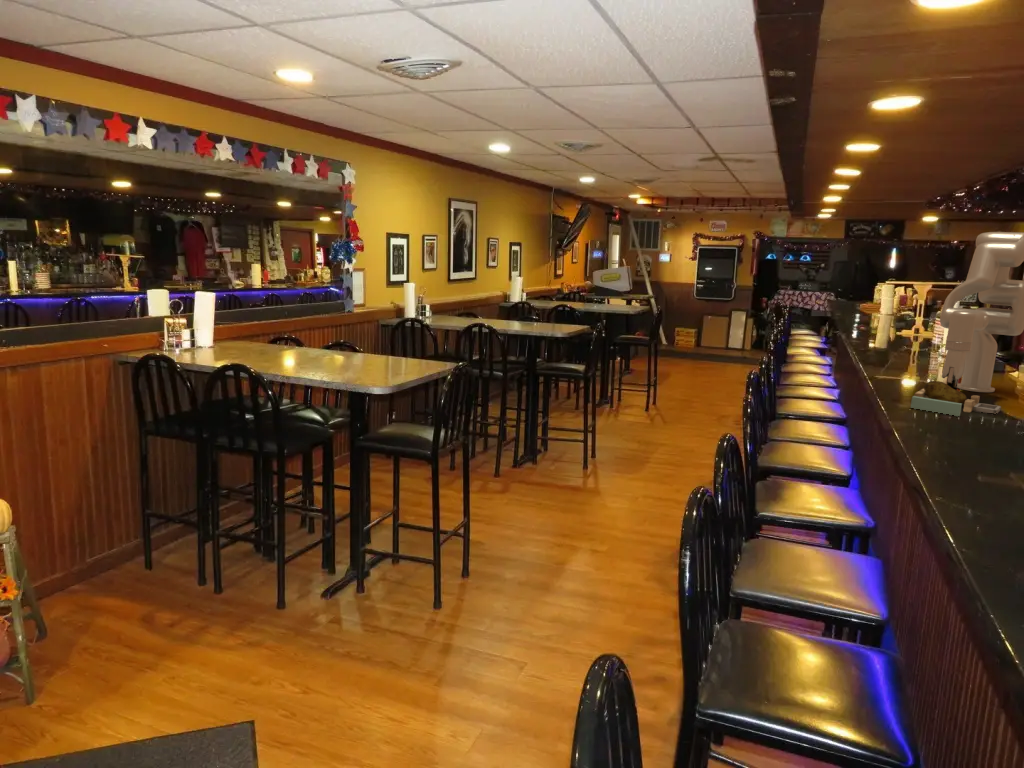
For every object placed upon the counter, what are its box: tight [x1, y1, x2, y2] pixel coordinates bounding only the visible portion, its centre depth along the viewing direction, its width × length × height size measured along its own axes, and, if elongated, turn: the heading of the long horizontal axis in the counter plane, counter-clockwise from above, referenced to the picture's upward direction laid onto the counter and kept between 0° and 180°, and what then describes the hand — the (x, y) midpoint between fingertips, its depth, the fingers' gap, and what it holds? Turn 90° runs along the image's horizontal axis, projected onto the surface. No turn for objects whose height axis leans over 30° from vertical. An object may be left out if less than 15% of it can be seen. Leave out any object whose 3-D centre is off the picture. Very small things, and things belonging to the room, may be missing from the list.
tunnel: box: [913, 387, 981, 413], centre depth 240 cm, size 14×17×4 cm
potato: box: [923, 380, 968, 406], centre depth 239 cm, size 8×13×8 cm, turn 54°
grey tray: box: [972, 402, 1002, 415], centre depth 233 cm, size 9×6×2 cm
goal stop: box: [910, 395, 963, 417], centre depth 228 cm, size 2×14×4 cm, turn 48°
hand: (949, 397), depth 244 cm, fingers closed
